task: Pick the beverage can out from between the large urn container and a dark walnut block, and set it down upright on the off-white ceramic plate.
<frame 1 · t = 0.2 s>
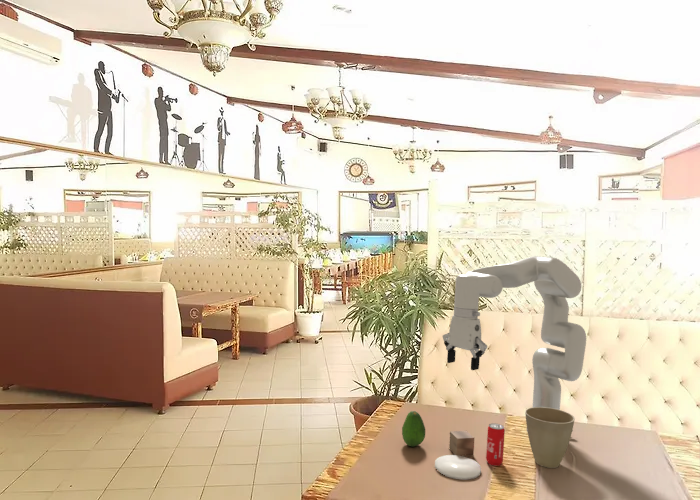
hand: (462, 365, 171), 30 cm above the table, tool pointing down, fingers open, 9 cm apart
plant pot: (546, 463, 172), on the table
avocado: (413, 446, 181), on the table
ceramic plate: (457, 468, 165), on the table
beverage can: (494, 463, 170), on the table
walnut block: (461, 452, 178), on the table
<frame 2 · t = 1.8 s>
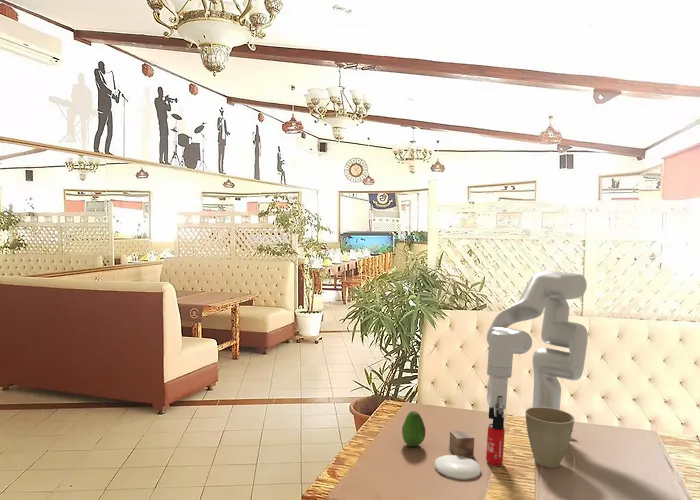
hand: (495, 423, 169), 13 cm above the table, tool pointing down, fingers open, 9 cm apart
nothing on the table moved.
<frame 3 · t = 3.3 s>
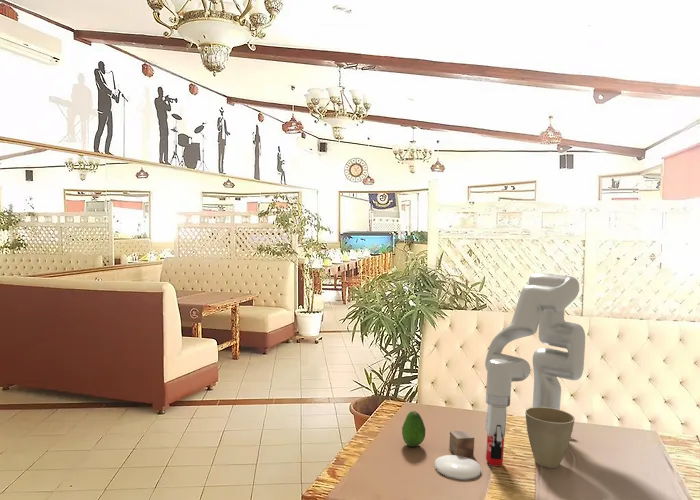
hand: (494, 454, 170), 3 cm above the table, tool pointing down, fingers closed on beverage can, 5 cm apart
beverage can: (494, 463, 170), on the table, touching gripper
everything else where it was.
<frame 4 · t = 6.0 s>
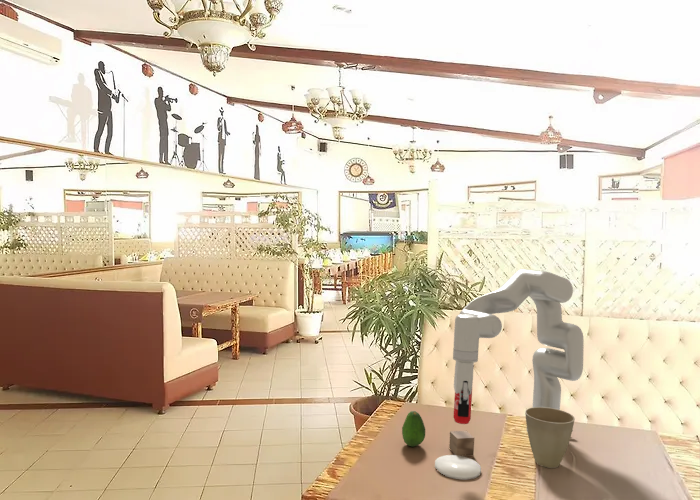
hand: (462, 412, 164), 18 cm above the table, tool pointing down, fingers closed on beverage can, 5 cm apart
beverage can: (461, 422, 165), point 15 cm above the table, touching gripper
everything else where it was.
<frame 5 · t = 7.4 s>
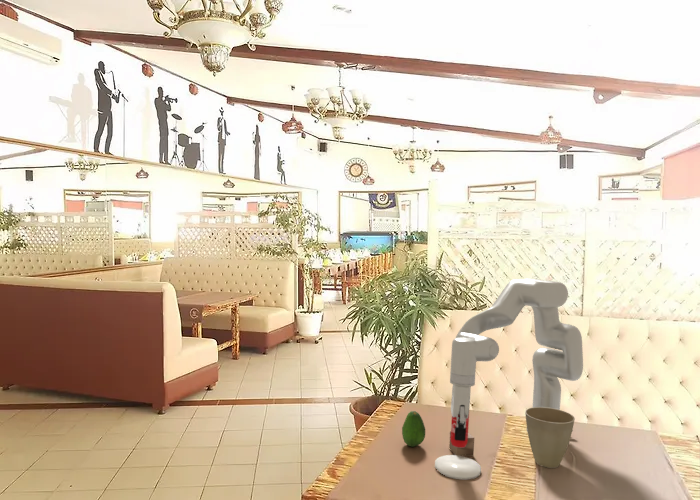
hand: (459, 435, 165), 10 cm above the table, tool pointing down, fingers closed on beverage can, 5 cm apart
beverage can: (458, 445, 165), point 7 cm above the table, touching gripper
everything else where it was.
when the fingers open (5 cm above the table, at t = 8.7 s): beverage can drops 1 cm, resting on ceramic plate.
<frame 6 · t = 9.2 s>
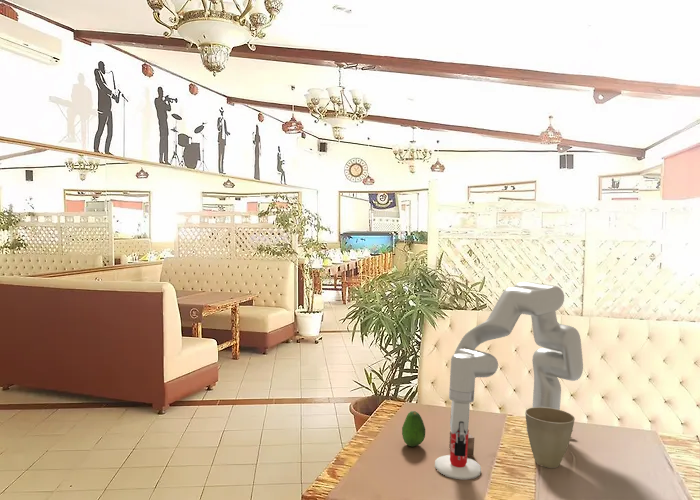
hand: (458, 448, 165), 6 cm above the table, tool pointing down, fingers open, 9 cm apart
beverage can: (458, 464, 166), point 1 cm above the table, touching ceramic plate
everything else where it was.
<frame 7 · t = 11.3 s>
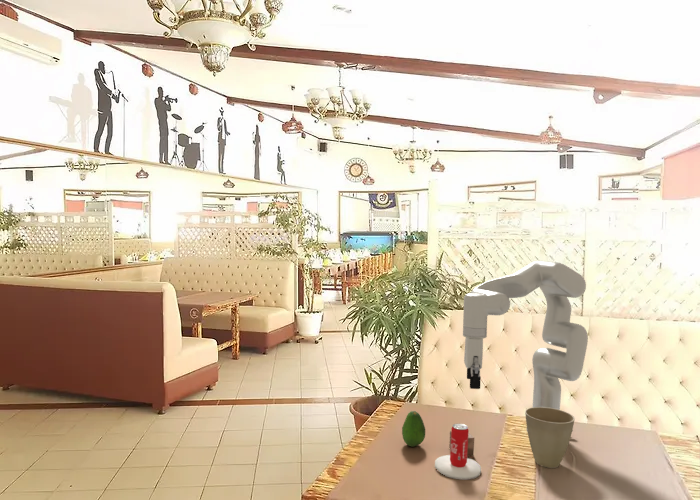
hand: (473, 383, 173), 24 cm above the table, tool pointing down, fingers open, 9 cm apart
nothing on the table moved.
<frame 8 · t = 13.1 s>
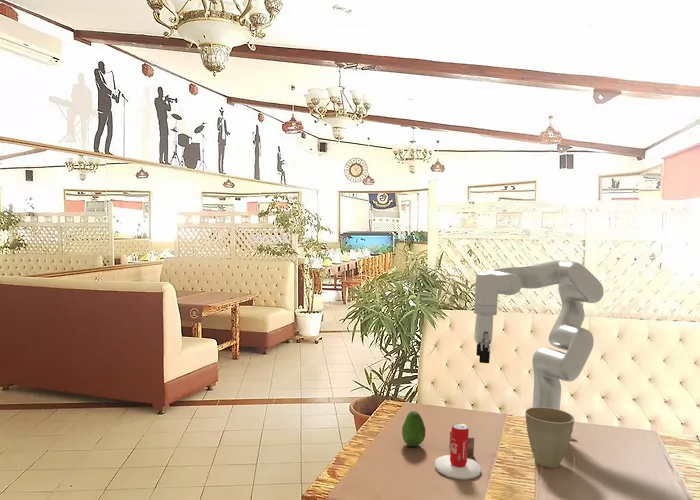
hand: (482, 359, 181), 30 cm above the table, tool pointing down, fingers open, 9 cm apart
nothing on the table moved.
at the end: beverage can inside the target area on the ceramic plate (0.5 cm from its centre), point 1.0 cm above the ceramic plate's base; beverage can tilted 0°; the gripper is holding nothing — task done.
